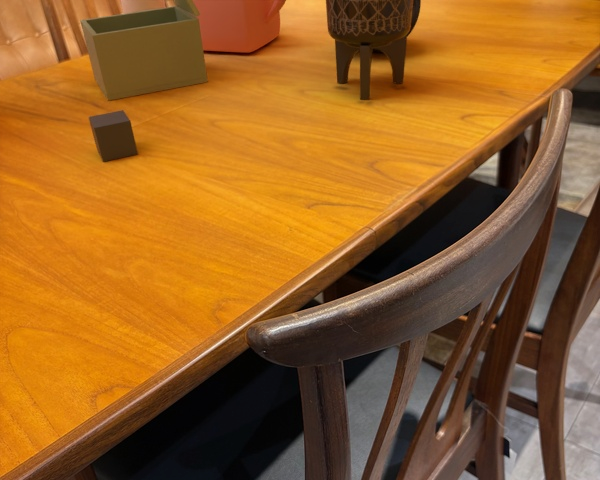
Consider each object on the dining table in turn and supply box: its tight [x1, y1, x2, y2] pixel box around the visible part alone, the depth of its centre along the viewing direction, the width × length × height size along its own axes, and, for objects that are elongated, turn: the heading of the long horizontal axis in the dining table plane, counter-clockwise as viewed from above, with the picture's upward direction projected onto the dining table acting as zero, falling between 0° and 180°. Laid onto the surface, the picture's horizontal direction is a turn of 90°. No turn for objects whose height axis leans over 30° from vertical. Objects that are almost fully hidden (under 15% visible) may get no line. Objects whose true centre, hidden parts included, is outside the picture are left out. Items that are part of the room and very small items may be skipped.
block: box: [88, 109, 139, 162], centre depth 79 cm, size 4×4×4 cm
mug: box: [120, 0, 167, 14], centre depth 118 cm, size 12×8×12 cm
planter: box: [325, 0, 413, 101], centre depth 90 cm, size 13×13×18 cm
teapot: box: [190, 0, 287, 53], centre depth 118 cm, size 20×22×14 cm
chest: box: [79, 5, 209, 101], centre depth 101 cm, size 17×13×10 cm
